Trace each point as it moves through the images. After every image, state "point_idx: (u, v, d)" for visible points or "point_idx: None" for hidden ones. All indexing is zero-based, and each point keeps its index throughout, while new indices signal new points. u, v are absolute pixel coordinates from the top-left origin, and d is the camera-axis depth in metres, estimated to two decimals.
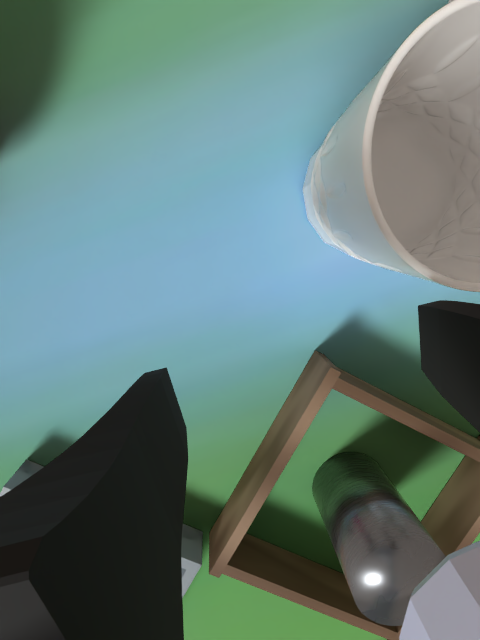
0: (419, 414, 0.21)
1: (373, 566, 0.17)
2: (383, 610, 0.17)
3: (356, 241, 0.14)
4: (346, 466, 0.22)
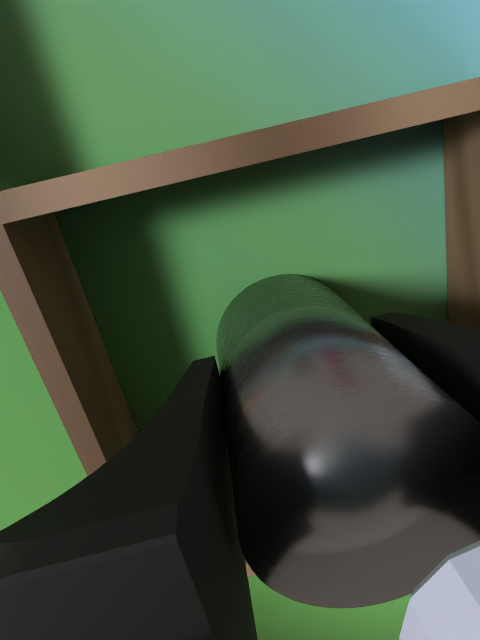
0: None
1: (375, 430, 0.06)
2: (281, 537, 0.06)
3: None
4: (337, 296, 0.11)
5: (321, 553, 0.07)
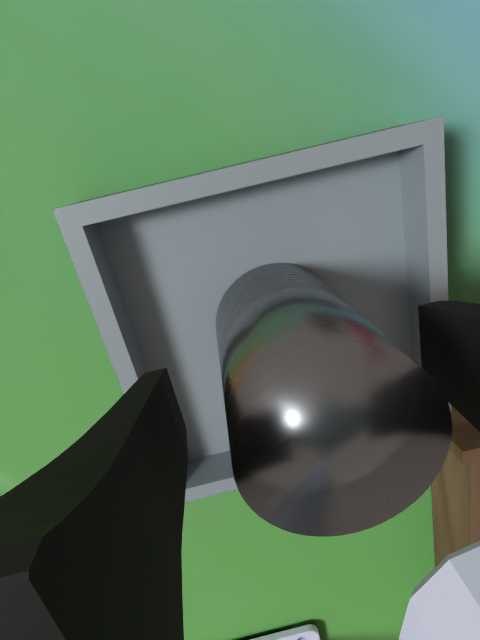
0: None
1: (343, 378, 0.07)
2: (267, 471, 0.08)
3: None
4: (322, 281, 0.13)
5: (301, 486, 0.08)
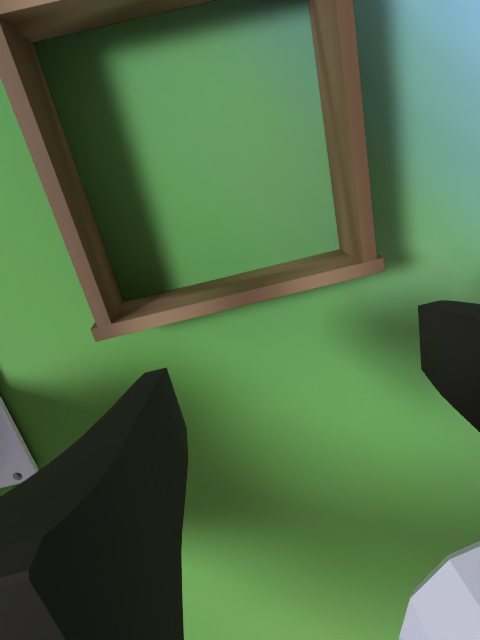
0: None
1: None
2: None
3: None
4: None
5: None
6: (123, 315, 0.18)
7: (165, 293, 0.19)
